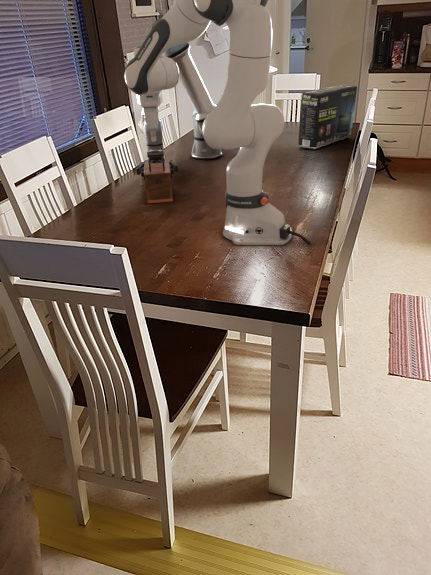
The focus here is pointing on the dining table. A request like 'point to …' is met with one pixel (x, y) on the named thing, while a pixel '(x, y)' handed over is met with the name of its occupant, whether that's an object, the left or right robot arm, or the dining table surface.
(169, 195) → the chest
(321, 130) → the router box
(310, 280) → the dining table surface
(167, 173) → the lid
